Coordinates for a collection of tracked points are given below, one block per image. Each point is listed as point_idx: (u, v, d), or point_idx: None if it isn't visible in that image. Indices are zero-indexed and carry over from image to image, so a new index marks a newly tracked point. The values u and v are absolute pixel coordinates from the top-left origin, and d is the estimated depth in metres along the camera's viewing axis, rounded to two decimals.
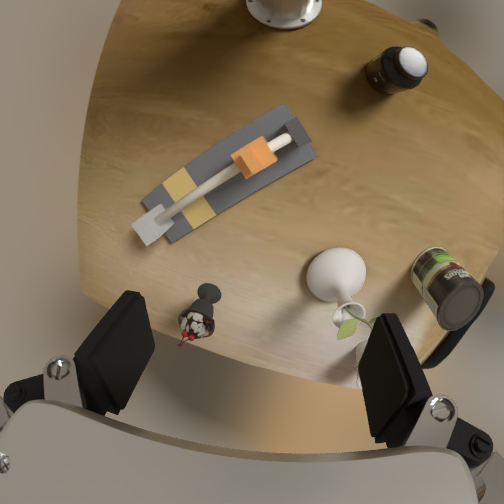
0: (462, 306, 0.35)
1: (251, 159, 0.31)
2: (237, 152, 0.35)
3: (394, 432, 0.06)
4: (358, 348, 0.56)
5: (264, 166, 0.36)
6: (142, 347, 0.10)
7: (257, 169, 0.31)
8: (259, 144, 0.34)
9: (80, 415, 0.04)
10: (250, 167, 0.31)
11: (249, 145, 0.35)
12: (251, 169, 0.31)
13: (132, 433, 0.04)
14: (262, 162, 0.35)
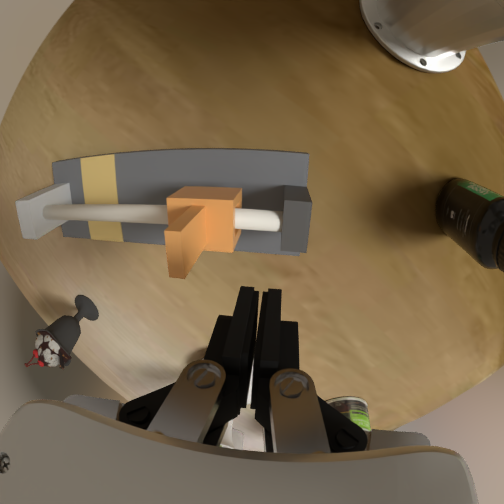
0: None
1: (179, 255, 0.15)
2: (179, 201, 0.19)
3: None
4: None
5: (208, 248, 0.20)
6: (254, 342, 0.10)
7: (181, 276, 0.16)
8: (221, 211, 0.19)
9: (80, 415, 0.04)
10: (171, 265, 0.16)
11: (204, 202, 0.19)
12: (171, 269, 0.16)
13: (132, 433, 0.04)
14: (208, 240, 0.20)
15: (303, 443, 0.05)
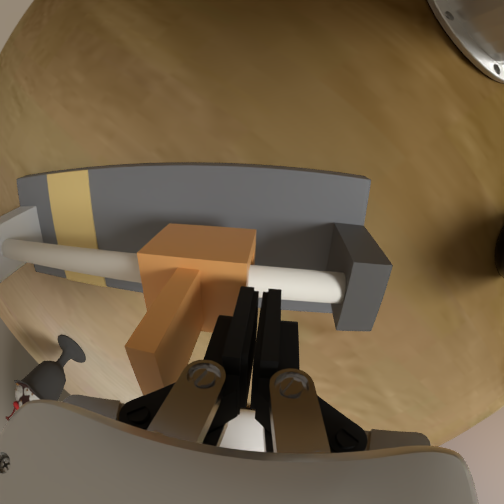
0: None
1: (158, 382, 0.08)
2: (157, 259, 0.11)
3: None
4: None
5: (206, 328, 0.13)
6: (254, 342, 0.10)
7: None
8: (226, 279, 0.12)
9: (80, 415, 0.04)
10: (146, 390, 0.08)
11: (198, 264, 0.11)
12: None
13: (131, 432, 0.04)
14: (206, 319, 0.13)
15: (303, 443, 0.05)
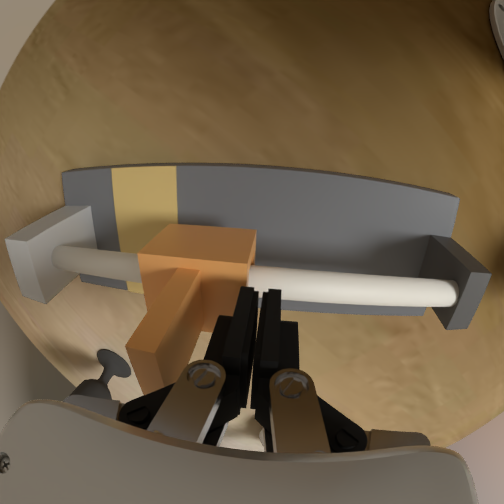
0: None
1: (159, 381, 0.08)
2: (157, 259, 0.12)
3: None
4: None
5: (206, 328, 0.13)
6: (254, 342, 0.10)
7: None
8: (226, 279, 0.12)
9: (80, 415, 0.04)
10: (147, 390, 0.08)
11: (198, 264, 0.11)
12: None
13: (132, 433, 0.04)
14: (206, 319, 0.13)
15: (303, 443, 0.05)
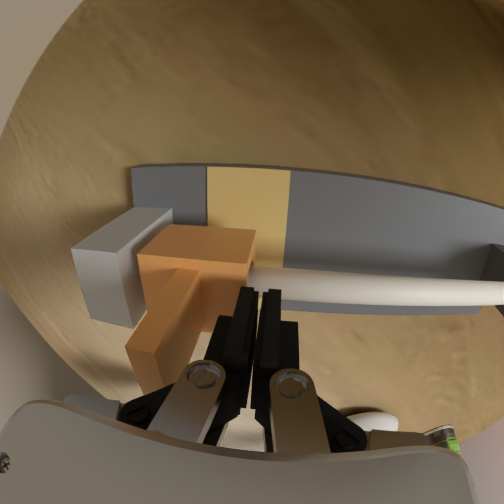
0: None
1: (158, 382, 0.08)
2: (157, 260, 0.12)
3: None
4: None
5: (206, 328, 0.13)
6: (254, 342, 0.10)
7: None
8: (226, 280, 0.12)
9: (80, 415, 0.04)
10: (147, 391, 0.08)
11: (198, 265, 0.11)
12: None
13: (131, 433, 0.04)
14: (206, 319, 0.13)
15: (303, 443, 0.05)
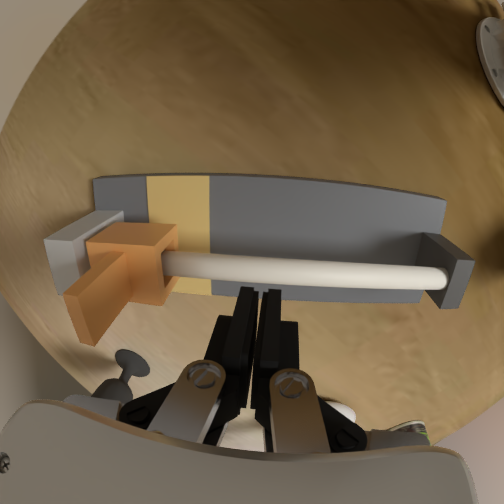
0: None
1: (83, 321, 0.11)
2: (98, 245, 0.15)
3: None
4: None
5: (135, 299, 0.16)
6: (254, 342, 0.10)
7: (90, 343, 0.11)
8: (142, 259, 0.15)
9: (80, 415, 0.04)
10: (78, 331, 0.11)
11: (123, 248, 0.15)
12: (79, 335, 0.11)
13: (132, 433, 0.04)
14: (134, 291, 0.16)
15: (303, 443, 0.05)
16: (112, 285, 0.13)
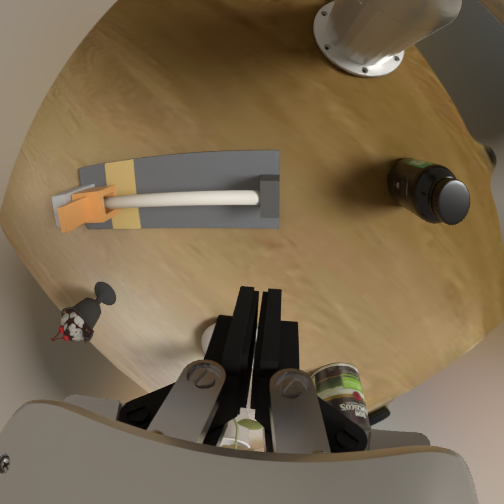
0: None
1: (63, 219, 0.25)
2: (76, 195, 0.29)
3: None
4: None
5: (92, 221, 0.30)
6: (254, 342, 0.10)
7: (65, 231, 0.25)
8: (94, 198, 0.29)
9: (80, 415, 0.04)
10: (61, 226, 0.25)
11: (87, 194, 0.29)
12: (62, 228, 0.25)
13: (132, 433, 0.04)
14: (91, 216, 0.30)
15: (303, 443, 0.05)
16: (79, 209, 0.27)
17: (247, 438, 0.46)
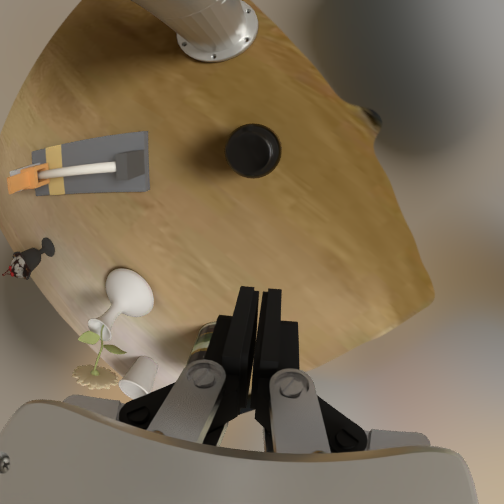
0: None
1: (9, 185, 0.31)
2: (22, 170, 0.35)
3: None
4: (138, 359, 0.60)
5: (30, 187, 0.36)
6: (254, 342, 0.10)
7: (10, 192, 0.31)
8: (31, 171, 0.35)
9: (80, 415, 0.04)
10: (8, 189, 0.31)
11: (28, 169, 0.35)
12: (9, 191, 0.31)
13: (132, 433, 0.04)
14: (30, 184, 0.36)
15: (303, 443, 0.05)
16: (21, 179, 0.33)
17: (148, 386, 0.54)
